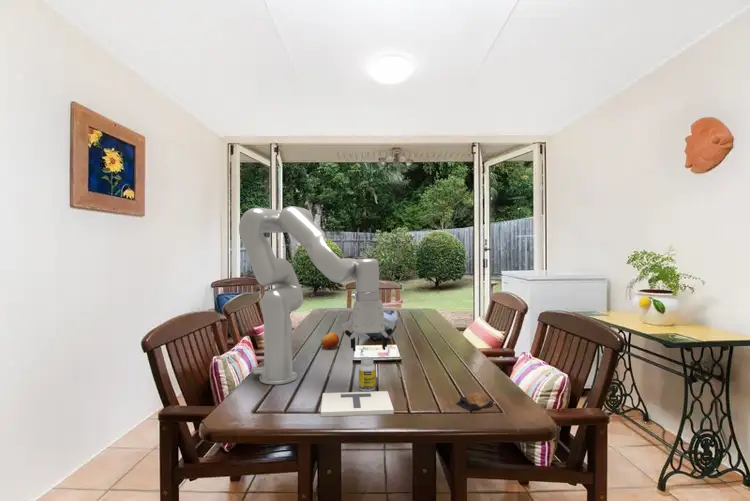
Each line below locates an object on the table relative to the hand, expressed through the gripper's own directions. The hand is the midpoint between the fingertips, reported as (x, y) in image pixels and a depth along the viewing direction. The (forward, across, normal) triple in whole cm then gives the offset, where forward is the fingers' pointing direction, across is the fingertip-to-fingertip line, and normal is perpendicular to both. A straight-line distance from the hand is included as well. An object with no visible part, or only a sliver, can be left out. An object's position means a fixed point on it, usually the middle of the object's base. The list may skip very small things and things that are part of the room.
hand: (369, 349), depth 130 cm
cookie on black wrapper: (+14, +30, -14) cm, 36 cm away
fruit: (+12, -14, +52) cm, 56 cm away
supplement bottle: (+13, -1, 0) cm, 13 cm away
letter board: (+13, -5, -13) cm, 19 cm away
